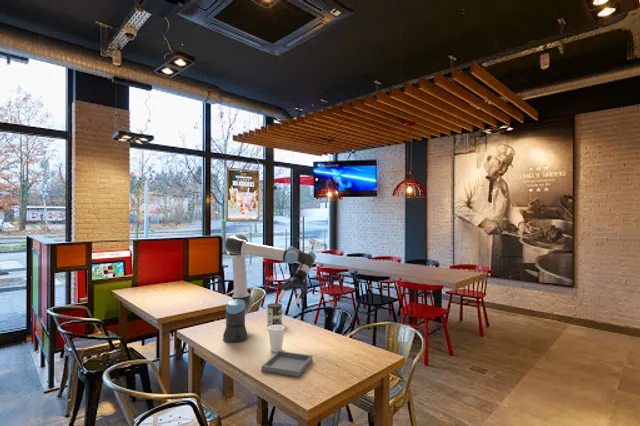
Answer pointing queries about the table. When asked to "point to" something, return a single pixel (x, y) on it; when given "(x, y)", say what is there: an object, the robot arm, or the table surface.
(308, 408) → the table surface
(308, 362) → the tray
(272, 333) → the foam cup
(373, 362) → the table surface
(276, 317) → the coffee can
